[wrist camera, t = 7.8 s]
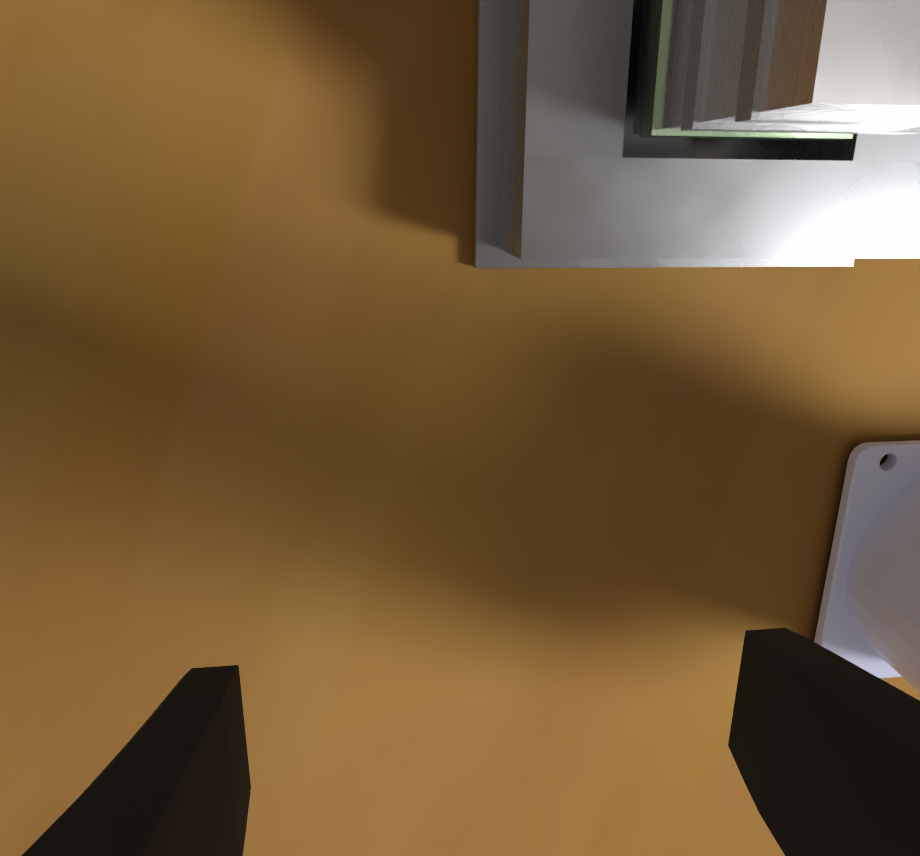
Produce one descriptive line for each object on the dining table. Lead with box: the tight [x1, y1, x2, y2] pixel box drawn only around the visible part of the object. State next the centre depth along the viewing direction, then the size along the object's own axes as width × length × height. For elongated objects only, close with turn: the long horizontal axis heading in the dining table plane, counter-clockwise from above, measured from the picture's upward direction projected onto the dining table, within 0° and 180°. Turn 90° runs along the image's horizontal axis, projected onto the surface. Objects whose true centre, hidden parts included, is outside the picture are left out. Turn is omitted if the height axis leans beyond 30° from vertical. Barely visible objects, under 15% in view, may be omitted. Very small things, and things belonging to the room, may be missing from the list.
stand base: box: [473, 0, 920, 268], centre depth 16 cm, size 10×10×4 cm
